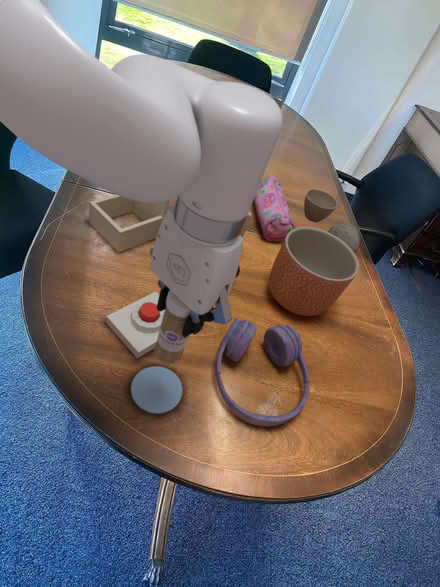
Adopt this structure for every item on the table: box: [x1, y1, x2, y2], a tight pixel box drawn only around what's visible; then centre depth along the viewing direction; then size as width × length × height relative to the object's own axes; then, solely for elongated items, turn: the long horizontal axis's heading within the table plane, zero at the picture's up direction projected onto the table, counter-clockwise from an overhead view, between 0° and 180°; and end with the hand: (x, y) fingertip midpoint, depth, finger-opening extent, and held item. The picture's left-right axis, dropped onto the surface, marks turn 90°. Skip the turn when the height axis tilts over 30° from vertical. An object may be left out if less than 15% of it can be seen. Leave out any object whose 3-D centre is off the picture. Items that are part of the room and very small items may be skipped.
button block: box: [105, 291, 165, 359], centre depth 75 cm, size 12×10×4 cm
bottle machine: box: [88, 194, 171, 253], centre depth 88 cm, size 13×12×16 cm
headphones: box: [214, 317, 311, 427], centre depth 73 cm, size 18×8×20 cm
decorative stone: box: [327, 221, 360, 255], centre depth 107 cm, size 10×8×10 cm
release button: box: [139, 302, 159, 322], centre depth 73 cm, size 4×4×2 cm
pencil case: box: [253, 175, 296, 242], centre depth 110 cm, size 21×9×9 cm, turn 4°
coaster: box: [130, 365, 183, 415], centre depth 68 cm, size 9×9×1 cm
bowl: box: [303, 188, 339, 223], centre depth 118 cm, size 10×10×7 cm
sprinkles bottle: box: [153, 290, 192, 365], centre depth 55 cm, size 5×5×13 cm
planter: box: [268, 226, 360, 317], centre depth 88 cm, size 17×17×15 cm
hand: (178, 317), depth 53 cm, fingers closed on sprinkles bottle, 4 cm apart
